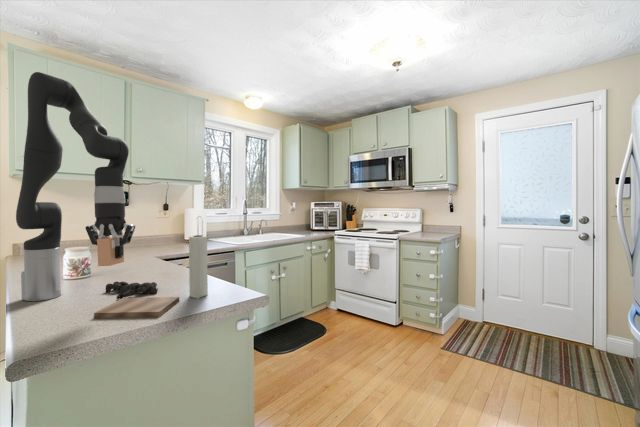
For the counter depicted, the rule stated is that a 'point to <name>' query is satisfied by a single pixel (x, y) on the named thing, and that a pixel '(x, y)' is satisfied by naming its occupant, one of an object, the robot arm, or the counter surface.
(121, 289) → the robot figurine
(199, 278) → the paper towel roll
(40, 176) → the robot arm
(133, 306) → the board
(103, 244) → the labeled cardboard box
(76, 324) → the counter surface
